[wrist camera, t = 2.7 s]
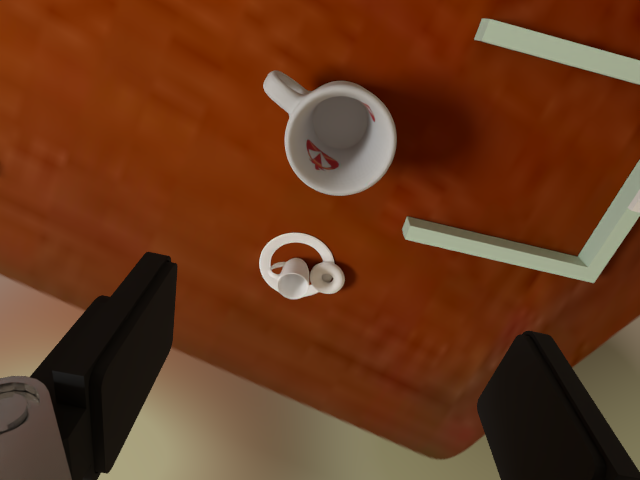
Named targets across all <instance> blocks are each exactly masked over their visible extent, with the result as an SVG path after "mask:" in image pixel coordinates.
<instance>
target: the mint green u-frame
mask: <svg viewBox="0 0 640 480" xmlns="http://www.w3.org/2000/svg"><path fill="white" fill-rule="evenodd" d="M474 40H478V41H482V42H485V43H489V44H493V45H496V46H500V47H503V48H507V49H511V50H514V51H518V52H522V53H525V54H529V55H533V56H536V57H540V58H544V59H547V60H551V61H554V62H558V63H562V64H565V65H569V66H573V67H576V68H580V69H584V70H587V71H591V72H595V73H598V74H602V75H606V76H609V77H613V78H616V79H620V80H624V81H627V82H631V83H635V84H638V85H640V61H639V60H636V59H632V58H628V57H625V56H621V55H618V54H614V53H610V52H607V51H603V50H600V49H596V48H593V47H589V46H585V45H582V44H578V43H575V42H571V41H567V40H564V39H560V38H557V37H553V36H550V35H546V34H542V33H539V32H535V31H532V30H528V29H525V28H521V27H517V26H514V25H510V24H507V23H503V22H499V21H496V20H492V19H482V20H481V23H480V25H479V28H478V31H477V33H476V36H475V39H474ZM639 216H640V160H639V161H638V163H637V164H636V166H635V168H634V169H633V171H632V172H631V174H630V175H629V177H628V179H627V180H626V182H625V183H624V185H623V186H622V188H621V189H620V191H619V193H618V194H617V196H616V197H615V199H614V200H613V202H612V204H611V205H610V207H609V208H608V210H607V211H606V213H605V215H604V216H603V218H602V219H601V221H600V222H599V224H598V226H597V227H596V229H595V230H594V232H593V233H592V235H591V237H590V238H589V240H588V241H587V243H586V244H585V246H584V247H583V249H582V251H581V252H580V254H579V255H578V257H577V256H573V255H568V254H564V253H560V252H556V251H551V250H547V249H543V248H539V247H535V246H530V245H526V244H522V243H518V242H513V241H509V240H505V239H501V238H497V237H492V236H488V235H484V234H480V233H475V232H471V231H467V230H463V229H459V228H454V227H450V226H446V225H442V224H437V223H433V222H429V221H425V220H420V219H416V218H412V217H408V216H407V218H406V221H405V223H404V226H403V228H402V231H403V234H404V238H405V239H406V240H410V241H415V242H419V243H423V244H428V245H432V246H436V247H441V248H445V249H449V250H453V251H458V252H462V253H466V254H471V255H475V256H479V257H484V258H488V259H492V260H497V261H501V262H505V263H509V264H514V265H518V266H522V267H527V268H531V269H535V270H540V271H544V272H548V273H553V274H557V275H561V276H565V277H570V278H574V279H578V280H583V281H587V282H591V283H594V282H595V281H596V279H597V278H598V276H599V275H600V273H601V272H602V270H603V269H604V268H605V266H606V265H607V263H608V262H609V260H610V259H611V257H612V256H613V254H614V253H615V251H616V250H617V249H618V247H619V246H620V244H621V243H622V241H623V240H624V238H625V237H626V235H627V234H628V233H629V231H630V230H631V228H632V227H633V225H634V224H635V222H636V221H637V219H638V218H639Z"/></svg>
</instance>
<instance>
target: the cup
mask: <svg viewBox="0 0 640 480" xmlns="http://www.w3.org/2000/svg"><path fill="white" fill-rule="evenodd" d="M263 88H264V90H265V92H266V94H267V95H268V96H269V97H270V98H271V99H272V100H273V101H274V102H276V103H277V104H278V105H279V106H280V107H282V108H283V109H284V110H285V111H286V112H288V114H289V117H290V118H289V121H288V123H287V127H286V131H285V150H286V154H287V158H288V161H289V163H290V165H291V167H292V169H293V171H294V172H295V173H296V175H297V176H298V177H299V178H300V179H301V180H302V181H303V182H304V183H305V184H307V185H308V186H309V187H311V188H313V189H314V190H317V191H319V192H322V193H325V194H329V195H336V196H344V195H351V194H355V193H359V192H361V191H364V190H366V189H368V188H369V187H371V186H372V185H374V184H375V183H376V182H377V181H379V180H380V179H381V178H382V176H383V175H384V174H385V173H386V171H387V170H388V168H389V167H390V165H391V163H392V160H393V158H394V154H395V150H396V143H397V136H396V128H395V124H394V121H393V118H392V116H391V114H390V112H389V110H388V109H387V107H386V106H385V105H384V103H383V102H382V101H381V100H380V99H379V98H378V97H376V96H375V95H374V94H372V93H371V92H369V91H368V90H366V89H365V88H363V87H362V86H360V85H358V84H356V83H353V82H349V81H334V82H329V83H326V84H324V85H322V86H320V87H318V88H317V89H315V90H313V91H308V90H306V89H305V88H303V87H302V86H301V85H300V84H298V83H297V82H296V81H294V80H293V79H292V78H290V77H289V76H287V75H286V74H284V73H282V72H279V71H272V72H271V73H269V75H268V76H267V77H266V79H265V81H264V85H263Z"/></svg>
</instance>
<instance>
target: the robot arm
mask: <svg viewBox="0 0 640 480" xmlns="http://www.w3.org/2000/svg"><path fill="white" fill-rule="evenodd" d="M176 280H177V264H176V263H172V262H171V258H170V256H166V255H161V254H156V253H151V252H146V253H145V254H144V256H143V257H142V258H141V259H140V261H139V262H138V263H137V264H136V266H135V267H134V268H133V269H132V271H131V272H130V273H129V274H128V276H127V277H126V278H125V279H124V281H123V282H122V283H121V284H120V286H119V287H118V288H117V289H116V291H115V292H114V293H113V295H112V296H111V297H108V296H103V295H102V296H99V297H97V298H96V299H95V300H94V301H93V303H92V304H91V305H90V306H89V307H88V308H87V310H86V311H85V312H84V313H83V315H82V316H81V317H80V318H79V319H78V320H77V322H76V323H75V324H74V325H73V326H72V327H71V329H70V330H69V331H68V332H67V333H66V335H65V336H64V337H63V338H62V339H61V341H60V342H59V343H58V344H57V345H56V346H55V348H54V349H53V350H52V351H51V352H50V354H49V355H48V356H47V357H46V358H45V360H44V361H43V362H42V363H41V364H40V366H39V367H38V368H37V369H36V370H35V371H34V373H33V374H32V375H31V376H30V377H26V376H11V377H5V378H0V480H97V479H98V477H99V475H100V473H108V472H109V471H110V470H111V468H112V467H113V465H114V463H115V460H116V459H117V457H118V455H119V453H120V451H121V448H122V447H123V445H124V443H125V441H126V439H127V437H128V435H129V432H130V431H131V428H132V427H133V424H134V422H135V420H136V418H137V416H138V414H139V412H140V410H141V408H142V406H143V404H144V402H145V400H146V398H147V396H148V394H149V392H150V390H151V388H152V386H153V384H154V382H155V380H156V378H157V376H158V374H159V372H160V370H161V368H162V366H163V364H164V362H165V360H166V358H167V356H168V354H169V351H170V349H171V345H172V340H173V327H174V311H175V296H176ZM477 410H478V414H479V417H480V420H481V423H482V426H483V429H484V432H485V434H486V437H487V440H488V443H489V446H490V449H491V452H492V455H493V458H494V460H495V463H496V466H497V469H498V472H499V475H500V478H501V480H640V472H639V470H638V469H637V467H636V466H635V464H634V463H633V461H632V460H631V458H630V457H629V455H628V454H627V452H626V450H625V449H624V447H623V446H622V444H621V443H620V441H619V440H618V438H617V437H616V435H615V434H614V432H613V431H612V429H611V428H610V426H609V424H608V423H607V421H606V420H605V418H604V417H603V415H602V414H601V412H600V410H599V409H598V408H597V406H596V404H595V403H594V401H593V400H592V398H591V397H590V395H589V394H588V392H587V390H586V389H585V387H584V386H583V384H582V383H581V381H580V380H579V378H578V377H577V375H576V374H575V372H574V370H573V369H572V367H571V366H570V364H569V363H568V361H567V360H566V358H565V357H564V355H563V354H562V352H561V350H560V349H559V347H558V346H557V344H556V343H555V341H554V340H553V338H552V337H551V336H549V335H547V334H542V333H537V332H533V331H526V332H524V333H523V334H522V335H518V336H517V337H516V338H515V340H514V341H513V343H512V345H511V346H510V348H509V349H508V351H507V353H506V354H505V356H504V358H503V359H502V361H501V363H500V364H499V366H498V368H497V369H496V371H495V373H494V374H493V376H492V377H491V379H490V381H489V382H488V384H487V386H486V387H485V389H484V391H483V392H482V394H481V396H480V397H479V399H478V403H477Z"/></svg>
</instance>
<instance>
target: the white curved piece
mask: <svg viewBox="0 0 640 480" xmlns="http://www.w3.org/2000/svg"><path fill="white" fill-rule="evenodd" d="M292 242H300V243H304V244H307V245H310V246H311V247H313V248H314V249H316V250H317V251H318V252H319V254H320V255H321V257H322V259H323V262H322V263H319V264H316V265H315V266H314V267H313V268H312V270H311V273H310V281H311V283H312V285H310V286H309V270H308V266H307V264H306V263H305V262H304V261H303V260H302V259H300V258H292V259H290V260H289V261H287V262H279V263H276V264H274V265H272V266H270V262H271V257H272V255H273V253H274V252H275V251H276V250H277V249H278V248H279V247H280V246H282V245H284V244H287V243H292ZM259 265H260V271H261V274H262V276H263V278H264V279H265V281H266V282H267V283H268V284H269V285H270V286H271V287H272V288H273V289H275V290H276V291H278V292H280V293H281V294H282V295H283V296H284V297H286V298H289V299H299V298H302V297H305V296H310V295H313V294H316V293H318V292H321V293H325V294H333V293H336V292H338V291H339V290H340V289H341V288H342V287H343V285H344V281H345V277H344V273H343V271H342V270H341V268H340V267H339V266H337V265H336V264H335V263H334V258H333V255H332V253H331V251H330V250H329V248H328V247H327V246H326V245H325V244H324V243H323V242H322V241H320V240H319V239H317V238H315V237H313V236H311V235H308V234H303V233H287V234H283V235H280V236H278V237H276V238H274V239H272V240H271V241H270V242H269V243H268V244H267V245H266V246H265V247H264V249H263V250H262V253H261V255H260V261H259ZM282 266H283V268H282V271H281V273H280V274H275V273H273V272H272V269H274V268H277V267H282ZM332 277H333V280H332V282H330V281H331V279H332Z"/></svg>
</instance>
